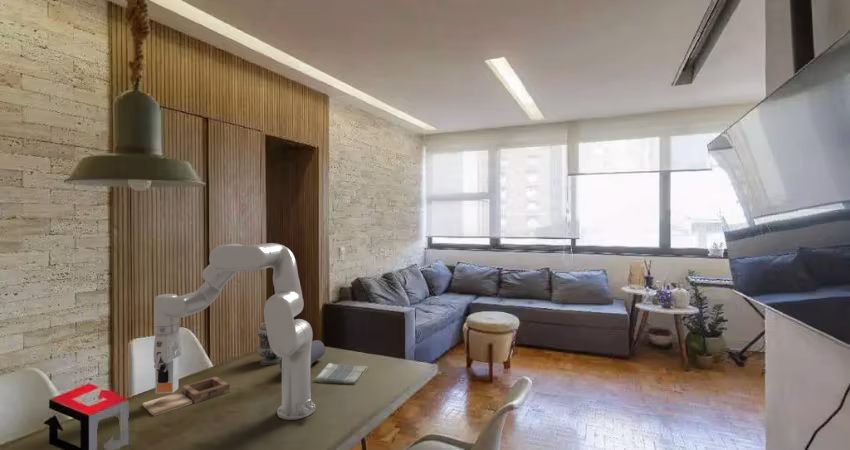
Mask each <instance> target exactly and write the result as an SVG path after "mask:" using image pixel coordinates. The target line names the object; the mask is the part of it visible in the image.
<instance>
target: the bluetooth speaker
mask: <svg viewBox="0 0 850 450" xmlns="http://www.w3.org/2000/svg"><path fill="white" fill-rule="evenodd" d="M325 353H326V347H325V344H324V342H322V341H321V340H318V339H316V340H315V339H314V340H312V345H311V366H313V363H315V362H317V361H318V360H319V359H321V358H322V357H323V356H324V355H325ZM279 369H280V371H282V357H281V360H280V363H279Z"/></svg>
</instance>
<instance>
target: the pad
mask: <svg viewBox="0 0 850 450" xmlns="http://www.w3.org/2000/svg"><path fill="white" fill-rule="evenodd" d="M192 404H193V402H192V401H191V400H190V399H189V398H187V397H186V396H185V395H183V394H182V391H181V392H180V391H178V392H174V393H170V394H168V395H165V396H161V397H158V398H155V399H151V400H148V401H145V402H142V406H143V408H145V409H146V411H148V412H149V413H150V414H151V415H152V416H153V417H156V416H159V415H161V414H165V413H168V412H171V411H174V410H177V409H180V408H184V407H186V406H189V405H192Z"/></svg>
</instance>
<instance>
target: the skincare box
mask: <svg viewBox="0 0 850 450" xmlns="http://www.w3.org/2000/svg"><path fill="white" fill-rule="evenodd" d="M161 363H163V361H161ZM161 366H163V367H164V365H161ZM154 370H155V371H154V372H155V385H154V386H155V388H154V389H155V394H174V393H176V391H177V390H178V389H179V357H176V358H175V359H173V360H172V362H170V363H168V366H167V371H168V382H167V383H158V372H157V369H155V368H154Z"/></svg>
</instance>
